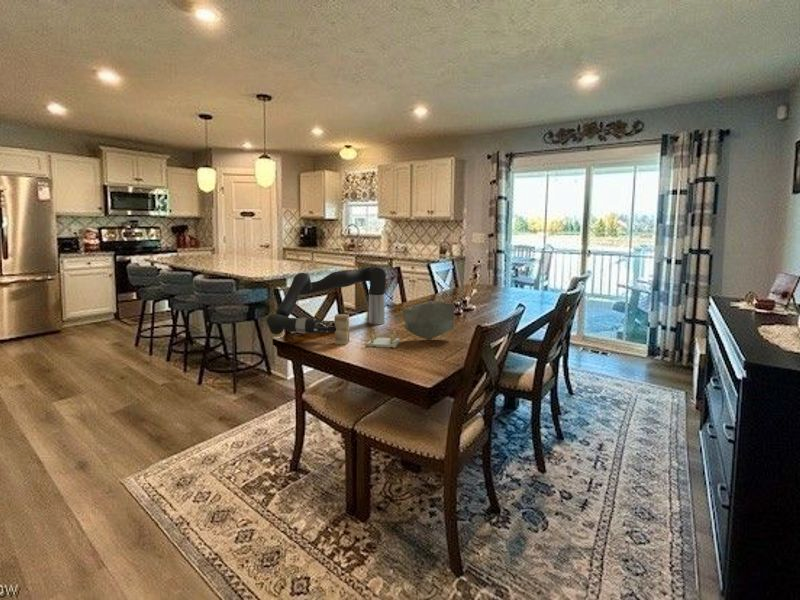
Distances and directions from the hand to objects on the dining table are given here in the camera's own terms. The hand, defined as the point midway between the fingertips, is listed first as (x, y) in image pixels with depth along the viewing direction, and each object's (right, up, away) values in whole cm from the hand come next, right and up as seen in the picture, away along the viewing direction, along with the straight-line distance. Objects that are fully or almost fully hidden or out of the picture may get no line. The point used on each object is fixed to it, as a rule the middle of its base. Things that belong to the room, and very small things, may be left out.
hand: (338, 327), depth 212 cm
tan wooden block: (+2, -8, +1) cm, 8 cm away
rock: (+44, -7, +9) cm, 46 cm away
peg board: (+22, -8, +1) cm, 23 cm away
